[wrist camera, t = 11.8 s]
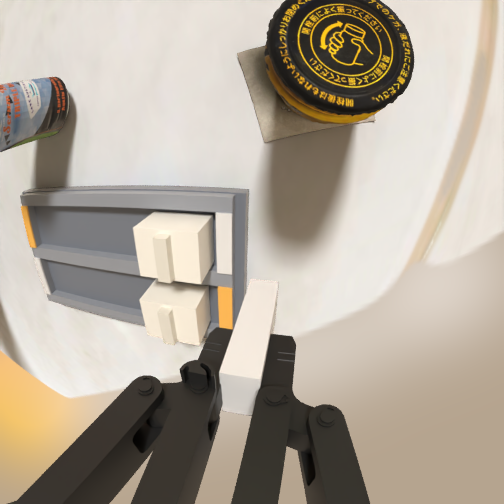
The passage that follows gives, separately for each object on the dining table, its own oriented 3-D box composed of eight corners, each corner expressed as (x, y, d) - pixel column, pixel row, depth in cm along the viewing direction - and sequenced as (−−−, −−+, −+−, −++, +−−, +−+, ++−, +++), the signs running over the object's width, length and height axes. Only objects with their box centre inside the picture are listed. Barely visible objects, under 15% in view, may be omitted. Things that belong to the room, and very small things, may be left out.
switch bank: (54, 290, 32) (44, 300, 29) (29, 189, 25) (15, 195, 23) (245, 328, 28) (240, 345, 26) (249, 189, 22) (243, 197, 20)
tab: (162, 311, 27) (144, 341, 23) (156, 277, 25) (134, 305, 22) (210, 319, 27) (197, 352, 23) (208, 284, 25) (192, 315, 21)
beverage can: (85, 113, 21) (-21, 134, 10) (44, 151, 23) (-46, 184, 12) (68, 63, 18) (-32, 65, 8) (29, 104, 21) (-59, 124, 10)
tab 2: (159, 254, 24) (135, 281, 20) (154, 211, 22) (127, 231, 19) (214, 261, 24) (197, 290, 20) (212, 214, 22) (193, 237, 18)
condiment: (375, 120, 18) (455, 128, 7) (265, 142, 20) (225, 170, 10) (348, 31, 15) (394, -45, 5) (237, 54, 17) (171, -4, 7)
